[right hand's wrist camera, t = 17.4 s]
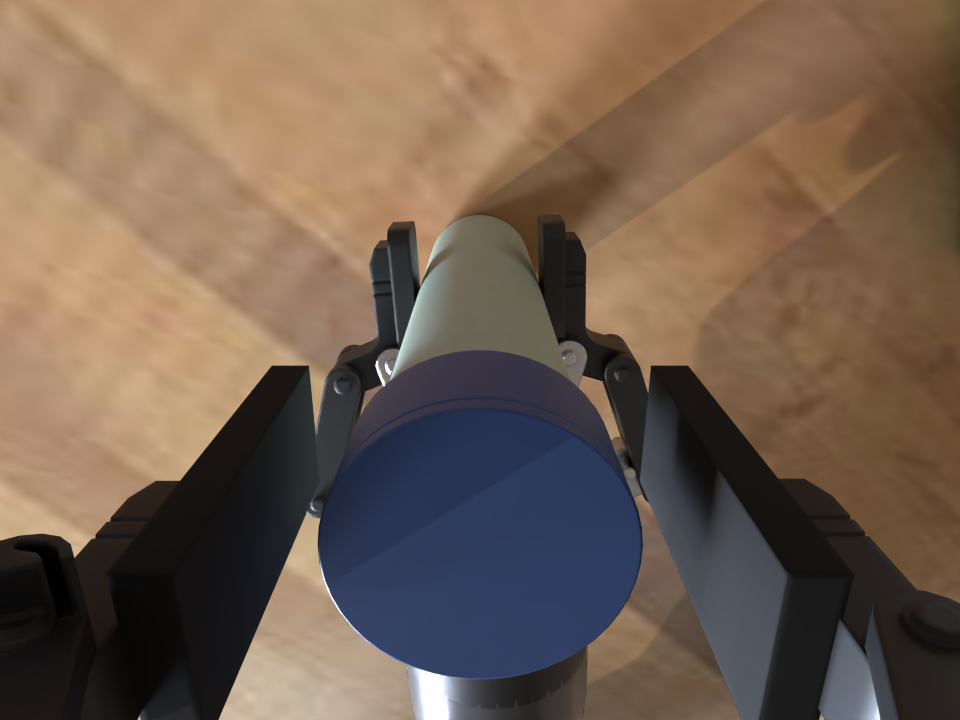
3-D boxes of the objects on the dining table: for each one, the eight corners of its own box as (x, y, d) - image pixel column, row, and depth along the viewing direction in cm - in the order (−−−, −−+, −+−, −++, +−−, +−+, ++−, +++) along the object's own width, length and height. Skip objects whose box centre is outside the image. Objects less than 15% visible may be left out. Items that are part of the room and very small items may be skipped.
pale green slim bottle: (493, 328, 30) (514, 667, 12) (412, 277, 29) (302, 558, 11) (548, 250, 28) (664, 495, 11) (465, 194, 28) (439, 358, 10)
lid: (656, 398, 12) (698, 467, 10) (556, 609, 13) (571, 711, 11) (389, 311, 11) (366, 362, 9) (318, 542, 13) (283, 636, 11)
